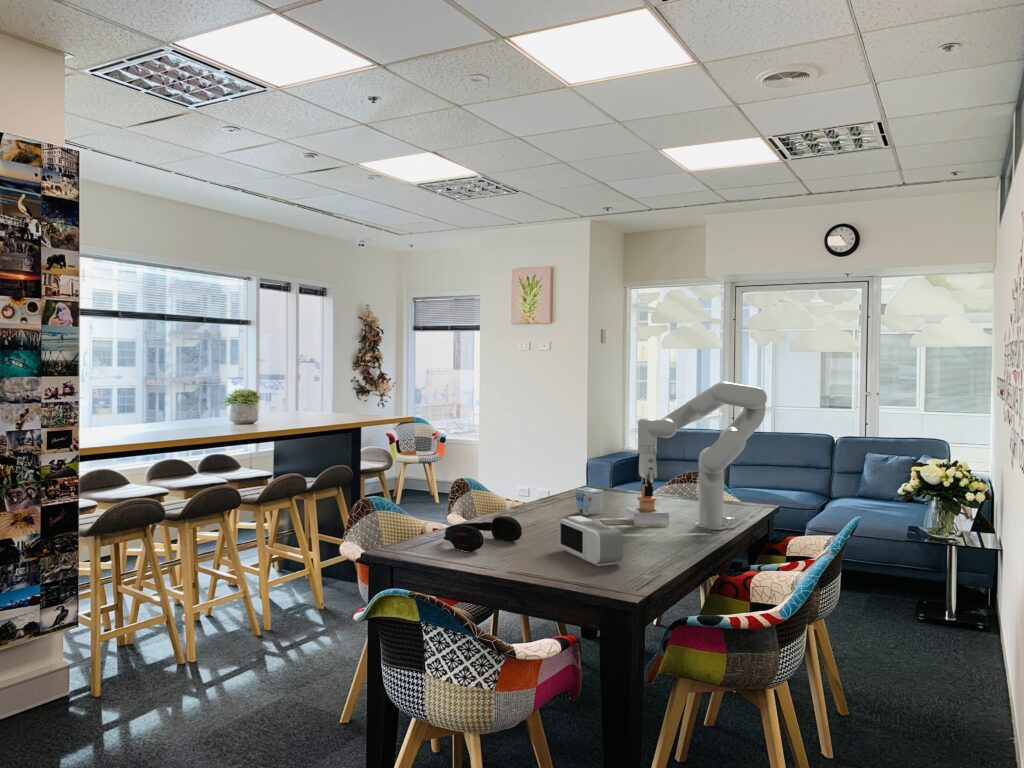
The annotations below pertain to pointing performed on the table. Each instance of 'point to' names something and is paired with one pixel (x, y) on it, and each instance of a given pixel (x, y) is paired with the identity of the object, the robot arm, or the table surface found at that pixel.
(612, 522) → the plate
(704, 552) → the table surface
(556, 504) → the table surface
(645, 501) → the end cover
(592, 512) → the light bulb box
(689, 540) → the table surface
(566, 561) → the table surface
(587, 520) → the alarm clock
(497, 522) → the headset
